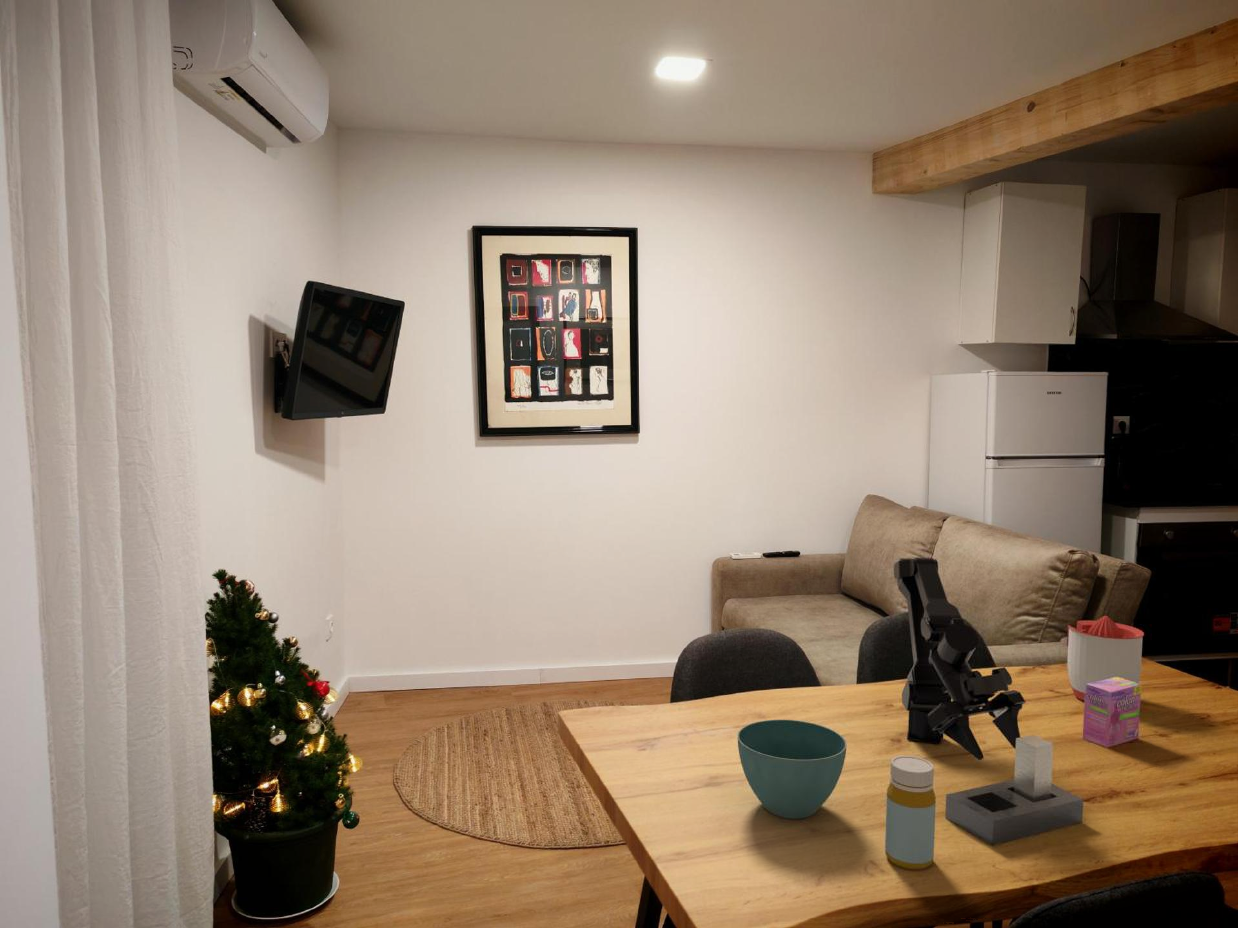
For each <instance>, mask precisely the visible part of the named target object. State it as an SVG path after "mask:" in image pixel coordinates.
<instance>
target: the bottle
mask: <svg viewBox="0 0 1238 928" xmlns="http://www.w3.org/2000/svg"><path fill="white" fill-rule="evenodd" d="M934 769H935V768H934V764H933V763H931V762H930V761H929V760H927V759H925V758H921V757H918V756H913V755H898V756H896V757H893V758H892V759H891V761H890V773H889V774H890V778H889V779H890V781H889V784H888V787H887V789H886V805H885V806H886V807H885V808H886V812H885V837H884V838H885V839H884V849H885V850H884V851H885V852H884V853H885V855H886V857H887V858H888V860H889V861H890V862H891V863H892V864H894V866H896V867H897V866H898V867H900V868H902V869H905V870H911V871H912V870H913V871H921V870H924V869H927V868H928V867H930V865H932V864H933V862H934V856H935V832H936V831H935V830H936V804H937V803H936V802H937V801H936V794H935V791H934V774H935V771H934Z"/></svg>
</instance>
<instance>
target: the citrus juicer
mask: <svg viewBox="0 0 1238 928" xmlns="http://www.w3.org/2000/svg"><path fill="white" fill-rule="evenodd" d="M1143 637H1145V632H1143V630H1141V629H1139V628H1136V627H1134V626H1130V625H1126V624H1123V623H1117V622H1115V621H1113V620H1112V619H1111V618H1110V617H1109V616H1108V615H1103V616H1101V617H1100V618H1099V619H1097V620H1091V619H1090V620H1089V619H1088V620H1087V619H1086V620H1077V622H1076V628H1075V627H1073V626H1072V625H1069V624H1068V625H1067V636H1066V637H1063V638H1061V639H1060V642H1059V644H1066V647H1067V672H1068V673H1067V674H1068V679H1069V682H1070V686H1071V689H1072V692H1073V694H1074V696H1075V697H1076V698H1077V699H1078V700H1080V701H1083V702H1085V687H1086V684H1089V683H1093V682H1097V681H1101V680H1105V679H1109V678H1113V677H1119V678H1123V679H1126V680H1129V681H1133V682H1136V683H1139V684H1140V679H1141V673H1142V672H1141V671H1142V656H1143V655H1142V653H1143Z"/></svg>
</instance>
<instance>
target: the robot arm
mask: <svg viewBox="0 0 1238 928" xmlns="http://www.w3.org/2000/svg"><path fill="white" fill-rule="evenodd" d="M893 577H894V578H893V579H895V580H896V583H897V584H896V585H897V589H898V591H899V592H900V593H901V594H902V595H903V597H904V598H905V599H906V604H907V613H908V623H909V632H910V640H911V650H912V658H913V659H912V660H913V665H912V668H911V669H910V671H909V673H908V675H907V679H906V682H905V685H904V687H903V690H902V691H901V702H902V705H903V707H904V709H905V710H906V711H907V712H908V723H907V724H908V725H907V735H906V739H907V740H908V741H915V742H922V743H927V744H928V743H929V744H935V745H940V744H941V743H942V742H941V740H942V739H944V735H945V736H947V737H948V738H950V739H951V740H953V742H955V743H957V744H958V745H959V746H961V747H962V748H963V749H965V750H966V751H967V752H968V753H969V754H971V755H972V756H973V757H974V758H975V759H977V760H979V761H981V760H983V759H984V754H983V752H982V749H981V747H980V744H979V743H978V742H977V739H976V737H975V735H974V734H973V732H972V730H971V728H970V717H971V716H977V715H982V714H987V713H988V715H989V716H990V717H992V718H993V720H992V723H993V725H994V726H995V727H996V728H997V729H998V730H999V732H1000V733H1001V734H1002V735H1003V736H1004V738H1005V739H1006V740H1007V741H1008V743H1010V745H1011V747H1013V748H1014V750H1016V738H1020V737H1021V733H1020V729H1019V724H1018V718H1019V717H1018V716H1019V712H1020V711H1021V710H1022V709H1023V705H1024V704H1026V700H1025V698H1024V697H1023V695H1022V693H1021V692H1020V691H1018V690H1014V689H1013V690H1010V689H1009V686H1010V685H1012V683H1013V679H1012V676H1011V674H1010V673H1009V671H1008V670H1007V668H1006V667H997V668H993V669H992V670H991V674H987V675H982V674H981V672H980V671H979V670H972V668H971V666H970V664H969V662H968V661H969V660H970V658H971V656H972V655H973V653H974V651H975V650H976V648H977V646H978V644H979V637H978V636H979V635H978V634H977V633H976V631H975V630H974V629H973V628H972V627H971V626H969V625H968V624H967V622H966V620H965V619H963V617H962V615H961V613H960V611H959V609H958V607H956V606H955V605H953V604H952V603H950V602H949V600H948V598H947V594H946V592H945V589H944V586H943V582H942V580H941V575H940V574H939V562H938V560H937V559H936V558H933V557H914V558H910V557H909V558H906V557H905V558H904V557H903V558H902V557H901V558H899V560H898V561H896V562H894V565H893ZM935 643H937V645H936V646H935ZM998 692H1000V693H998ZM997 693H998V694H997ZM996 694H997V695H996ZM989 699H991V700H989Z"/></svg>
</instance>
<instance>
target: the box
mask: <svg viewBox="0 0 1238 928" xmlns="http://www.w3.org/2000/svg"><path fill="white" fill-rule="evenodd" d="M1142 687H1143V686H1142V684H1140V682H1139V683H1136V682H1133V681H1129V680H1126V679H1123V678H1119V677H1113V678H1109V679H1105V680H1101V681H1097V682H1093V683H1089V684H1086V687H1085V701H1084V702H1083V703H1084V707H1083V720H1082V721H1083V724H1082V725H1083V726H1082V739H1083V740H1086V741H1088V742H1090V743H1094V744H1096V745H1099V746H1101V747H1104V748H1107V749H1108V748H1111V747H1115V746H1117V745H1121V744H1124V743H1127V742H1131V741H1135V740H1138V739H1139V730H1140V729H1139V726H1140V714H1141V713H1140V712H1141V697H1142Z"/></svg>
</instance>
